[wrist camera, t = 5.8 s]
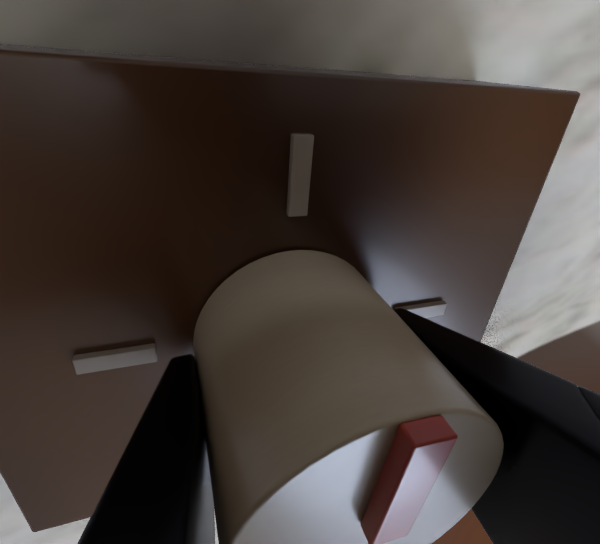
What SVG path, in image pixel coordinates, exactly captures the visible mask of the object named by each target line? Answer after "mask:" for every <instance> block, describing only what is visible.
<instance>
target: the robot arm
mask: <svg viewBox="0 0 600 544" xmlns="http://www.w3.org/2000/svg"><path fill="white" fill-rule="evenodd" d="M393 310H394V311H395V312H396V313H397V315H398V316H399V317H400V318H401V319H402V320H403V321H404V322H405V323H406V324H407V326H408V327H409V328H410V329H411V330H412V331H413V332H414V333H415V334H416V335H417V337H418V338H419V339H420V340H421V341H422V342H423V343H424V344H425V345H426V346H427V348H428V349H429V350H430V351H431V352H432V353H433V354H434V355H435V356H436V357H437V359H438V360H439V361H440V362H441V363H442V364H443V365H444V366H445V367H446V368H447V369H448V371H449V372H450V373H451V374H452V375H453V376H454V377H455V378H456V379H457V380H458V382H459V383H460V384H461V385H462V386H463V387H464V388H465V389H466V390H467V391H468V393H469V394H470V395H471V396H472V397H473V398H474V399H475V400H476V401H477V402H478V404H479V405H480V406H481V407H482V408H483V409H484V410H485V411H486V412H487V413H488V414H489V416H490V417H491V418H492V419H493V420H494V421H495V422H496V423H497V425H498V427H499V429H500V431H501V433H502V437H503V442H504V448H503V456H502V460H501V463H500V466H499V468H498V470H497V473H496V475H495V476H494V478H493V480H492V482H491V483H490V485H489V486H488V488H487V489H486V491H485V492H484V493H483V495H482V496H481V497H480V499H479V500H478V501H477V502H476V503H475V505H474V506H473V507H472V510H473V511H474V513H475V515H476V516H477V518H478V520H479V521H480V523H481V524H482V526H483V528H484V529H485V531H486V533H487V534H488V536H489V537H490V539H491V540H492V542H493V544H600V395H599V394H597V393H595V392H593V391H590V390H588V389H586V388H584V387H581V386H578V387H577V385H576V384H574V383H572V382H570V381H567V380H565V379H563V378H560V377H558V376H556V375H554V374H552V373H549V372H547V371H544V370H542V369H540V368H538V367H536V366H533V365H531V364H529V363H526V362H524V361H522V360H520V359H517V358H515V357H513V356H510V355H508V354H506V353H504V352H501V351H499V350H497V349H495V348H492V347H490V346H488V345H485V344H483V343H481V342H479V341H476V340H474V339H472V338H469V337H467V336H465V335H463V334H460V333H458V332H456V331H453V330H451V329H449V328H447V327H444V326H442V325H440V324H438V323H435V322H433V321H431V320H428V319H426V318H424V317H422V316H419V315H417V314H415V313H412V312H410V311H408V310H406V309H403V308H397V309H393ZM78 544H215V522H214V501H213V494H212V486H211V479H210V471H209V463H208V456H207V448H206V440H205V433H204V424H203V415H202V408H201V400H200V392H199V385H198V377H197V369H196V362H195V358H194V355H193V354H186V355H182V356H177V357H173V358H172V359H171V360H170V361H169V363H168V365H167V367H166V369H165V371H164V373H163V375H162V377H161V379H160V381H159V383H158V385H157V387H156V389H155V391H154V393H153V395H152V397H151V399H150V401H149V403H148V405H147V407H146V409H145V411H144V413H143V415H142V417H141V419H140V421H139V423H138V425H137V427H136V428H135V430H134V432H133V434H132V436H131V438H130V440H129V442H128V444H127V446H126V448H125V450H124V452H123V454H122V456H121V458H120V460H119V462H118V464H117V466H116V468H115V470H114V472H113V474H112V476H111V478H110V480H109V482H108V484H107V486H106V488H105V490H104V492H103V494H102V496H101V498H100V500H99V502H98V504H97V506H96V508H95V510H94V512H93V514H92V516H91V518H90V520H89V522H88V524H87V526H86V528H85V530H84V532H83V534H82V536H81V538H80V540H79V542H78Z"/></svg>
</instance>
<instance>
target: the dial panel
mask: <svg viewBox="0 0 600 544" xmlns="http://www.w3.org/2000/svg"><path fill="white" fill-rule="evenodd" d="M579 96H580V93H579V92H577V91H567V90H558V89H548V88H539V87H529V86H519V85H510V84H500V83H491V82H481V81H469V80H456V79H443V78H430V77H418V76H405V75H392V74H379V73H366V72H353V71H340V70H327V69H314V68H301V67H288V66H275V65H262V64H249V63H236V62H223V61H211V60H198V59H185V58H172V57H159V56H146V55H133V54H120V53H107V52H94V51H81V50H68V49H55V48H42V47H29V46H16V45H4V44H0V473H1V474H2V476H3V478H4V480H5V482H6V484H7V485H8V487H9V489H10V491H11V493H12V495H13V496H14V498H15V500H16V502H17V504H18V506H19V507H20V509H21V511H22V513H23V515H24V517H25V519H26V520H27V522H28V524H29V526H30V528H31V530H32V531H33V532H37V531H41V530H44V529H48V528H52V527H56V526H59V525H63V524H67V523H70V522H74V521H78V520H81V519H85V518H89V517H91V516H92V514H93V512H94V510H95V508H96V506H97V504H98V502H99V500H100V498H101V496H102V494H103V492H104V490H105V488H106V486H107V484H108V482H109V480H110V478H111V476H112V474H113V472H114V470H115V468H116V466H117V464H118V462H119V460H120V458H121V456H122V454H123V452H124V450H125V448H126V446H127V444H128V442H129V440H130V438H131V436H132V434H133V432H134V430H135V428H136V427H137V425H138V423H139V421H140V419H141V417H142V415H143V413H144V411H145V409H146V407H147V405H148V403H149V401H150V399H151V397H152V395H153V393H154V391H155V389H156V387H157V385H158V383H159V381H160V379H161V377H162V375H163V373H164V371H165V369H166V367H167V365H168V363H169V361H170V360H171V359H172V358H173V357H177V356H182V355H186V354H193V355H194V347H193V339H194V330H195V326H196V323H197V320H198V317H199V315H200V313H201V310H202V309H203V307H204V305H205V304H206V302H207V300H208V299H209V297H210V296H211V295H212V294H213V292H214V291H215V290H216V289H217V288H218V287H219V286H220V285H221V284H222V283H223V282H224V281H225V280H226V279H227V278H228V277H230V276H231V275H232V274H234V273H235V272H236V271H238V270H239V269H241V268H243V267H244V266H246V265H248V264H249V263H252V262H254V261H256V260H258V259H260V258H263V257H266V256H269V255H272V254H275V253H280V252H285V251H293V250H314V251H319V252H325V253H328V254H331V255H334V256H337V257H339V258H341V259H343V260H345V261H346V262H348V263H349V264H350V265H352V266H353V267H354V268H355V269H356V270H357V271H358V272H359V273H360V274H361V275H362V276H363V277H364V278H365V279H366V281H367V282H368V283H369V284H370V285H371V286H372V287H373V288H374V289H375V290H376V292H377V293H378V294H379V295H380V296H381V297H382V298H383V299H384V300H385V301H386V303H387V304H388V305H389V306H390V307H391V308H392V309H397V308H403V309H406V310H408V311H410V312H412V313H415V314H417V315H419V316H422V317H424V318H426V319H428V320H431V321H433V322H435V323H438V324H440V325H442V326H444V327H447V328H449V329H451V330H453V331H456V332H458V333H460V334H463V335H465V336H467V337H469V338H472V339H474V340H476V341H479V342H480V341H481V339H482V336H483V334H484V331H485V329H486V326H487V324H488V321H489V319H490V316H491V314H492V311H493V309H494V306H495V304H496V302H497V299H498V297H499V294H500V292H501V289H502V287H503V284H504V282H505V279H506V277H507V274H508V272H509V269H510V267H511V264H512V262H513V260H514V257H515V255H516V252H517V250H518V247H519V245H520V242H521V240H522V237H523V235H524V232H525V230H526V227H527V225H528V222H529V220H530V218H531V215H532V213H533V210H534V208H535V205H536V203H537V200H538V198H539V195H540V193H541V190H542V188H543V185H544V183H545V180H546V178H547V176H548V173H549V171H550V168H551V166H552V163H553V161H554V158H555V156H556V153H557V151H558V148H559V146H560V143H561V141H562V138H563V136H564V134H565V131H566V129H567V126H568V124H569V121H570V119H571V116H572V114H573V111H574V109H575V106H576V104H577V101H578V99H579ZM194 358H195V356H194Z"/></svg>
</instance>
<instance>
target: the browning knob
mask: <svg viewBox="0 0 600 544" xmlns="http://www.w3.org/2000/svg"><path fill="white" fill-rule="evenodd" d="M193 347H194V356H195V362H196V369H197V377H198V385H199V392H200V400H201V408H202V415H203V424H204V433H205V440H206V448H207V456H208V463H209V471H210V479H211V486H212V494H213V501H214V509H215V517H216V524H217V532H218V540H219V544H431V543H433V542H434V541H435V540H437V539H438V538H439V537H441V536H442V535H443V534H444V533H445V532H447V531H448V530H449V529H450V528H451V527H452V526H454V525H455V524H456V523H457V522H458V521H459V520H460V519H461V518H462V517H463V516H464V515H465V514H466V513H467V512H468V511H469V510H470V509H471V508H472V507H473V506H474V505H475V503H476V502H477V501H478V500H479V499H480V497H481V496H482V495H483V493H484V492H485V491H486V489H487V488H488V486H489V485H490V483H491V482H492V480H493V478H494V476H495V475H496V473H497V470H498V468H499V466H500V463H501V460H502V456H503V448H504V442H503V437H502V433H501V431H500V429H499V427H498V425H497V423H496V422H495V421H494V420H493V419H492V418H491V417H490V416H489V414H488V413H487V412H486V411H485V410H484V409H483V408H482V407H481V406H480V405H479V404H478V402H477V401H476V400H475V399H474V398H473V397H472V396H471V395H470V394H469V393H468V391H467V390H466V389H465V388H464V387H463V386H462V385H461V384H460V383H459V382H458V380H457V379H456V378H455V377H454V376H453V375H452V374H451V373H450V372H449V371H448V369H447V368H446V367H445V366H444V365H443V364H442V363H441V362H440V361H439V360H438V359H437V357H436V356H435V355H434V354H433V353H432V352H431V351H430V350H429V349H428V348H427V346H426V345H425V344H424V343H423V342H422V341H421V340H420V339H419V338H418V337H417V335H416V334H415V333H414V332H413V331H412V330H411V329H410V328H409V327H408V326H407V324H406V323H405V322H404V321H403V320H402V319H401V318H400V317H399V316H398V315H397V313H396V312H395V311H394V310H393V309H392V308H391V307H390V306H389V305H388V304H387V303H386V301H385V300H384V299H383V298H382V297H381V296H380V295H379V294H378V293H377V292H376V290H375V289H374V288H373V287H372V286H371V285H370V284H369V283H368V282H367V281H366V279H365V278H364V277H363V276H362V275H361V274H360V273H359V272H358V271H357V270H356V269H355V268H354V267H353V266H352V265H350V264H349V263H348V262H346V261H345V260H343V259H341V258H339V257H337V256H334V255H331V254H328V253H325V252H319V251H314V250H293V251H285V252H280V253H275V254H272V255H269V256H266V257H263V258H260V259H258V260H256V261H254V262H252V263H249V264H248V265H246V266H244V267H243V268H241V269H239V270H238V271H236V272H235V273H234V274H232V275H231V276H230V277H228V278H227V279H226V280H225V281H224V282H223V283H222V284H221V285H220V286H219V287H218V288H217V289H216V290H215V291H214V292H213V294H212V295H211V296H210V297H209V299H208V300H207V302H206V304H205V305H204V307H203V309H202V310H201V313H200V315H199V317H198V320H197V323H196V326H195V330H194V339H193Z"/></svg>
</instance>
